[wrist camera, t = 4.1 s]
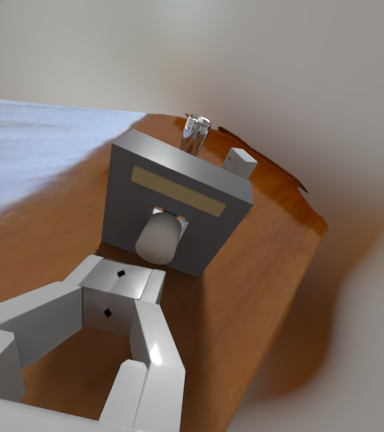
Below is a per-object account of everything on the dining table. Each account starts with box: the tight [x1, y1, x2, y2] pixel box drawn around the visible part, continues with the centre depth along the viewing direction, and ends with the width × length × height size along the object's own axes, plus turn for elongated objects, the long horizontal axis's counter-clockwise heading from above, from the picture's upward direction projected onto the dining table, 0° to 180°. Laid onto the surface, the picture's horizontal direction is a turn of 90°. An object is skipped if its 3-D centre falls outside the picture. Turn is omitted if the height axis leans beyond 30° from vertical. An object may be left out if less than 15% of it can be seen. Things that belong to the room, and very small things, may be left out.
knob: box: [135, 209, 182, 264], centre depth 29 cm, size 11×5×5 cm, turn 171°
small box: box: [221, 148, 258, 180], centre depth 63 cm, size 8×6×10 cm
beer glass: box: [180, 114, 212, 157], centre depth 58 cm, size 7×7×15 cm
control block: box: [101, 129, 254, 278], centre depth 31 cm, size 6×18×18 cm, turn 81°
